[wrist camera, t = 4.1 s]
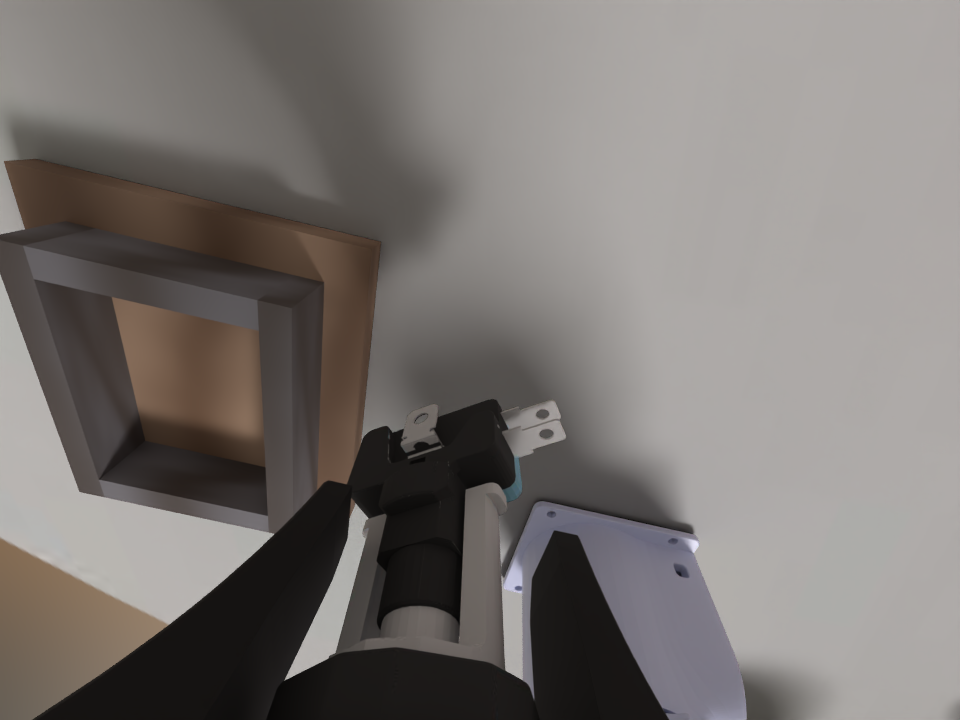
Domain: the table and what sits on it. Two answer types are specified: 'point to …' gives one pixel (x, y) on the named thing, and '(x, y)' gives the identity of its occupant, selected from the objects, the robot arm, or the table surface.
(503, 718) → the push button
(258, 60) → the table surface
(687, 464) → the table surface
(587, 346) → the table surface
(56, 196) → the socket board
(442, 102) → the table surface
